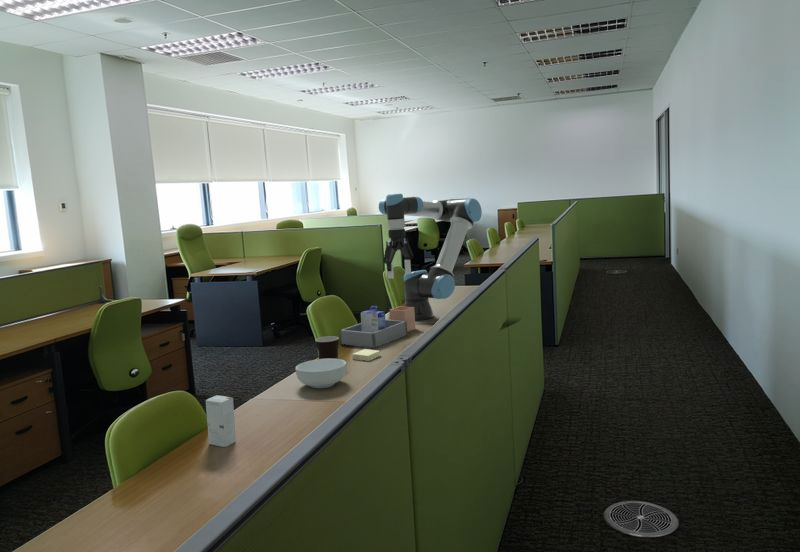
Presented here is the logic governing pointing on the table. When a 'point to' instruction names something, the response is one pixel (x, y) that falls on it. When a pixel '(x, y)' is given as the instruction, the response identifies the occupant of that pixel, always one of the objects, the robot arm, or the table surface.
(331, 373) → the cereal bowl
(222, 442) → the skincare box
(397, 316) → the pen holder
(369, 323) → the ink cartridge box
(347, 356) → the table surface
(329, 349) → the coffee mug
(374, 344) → the grey bin
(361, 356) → the sticky note pad
